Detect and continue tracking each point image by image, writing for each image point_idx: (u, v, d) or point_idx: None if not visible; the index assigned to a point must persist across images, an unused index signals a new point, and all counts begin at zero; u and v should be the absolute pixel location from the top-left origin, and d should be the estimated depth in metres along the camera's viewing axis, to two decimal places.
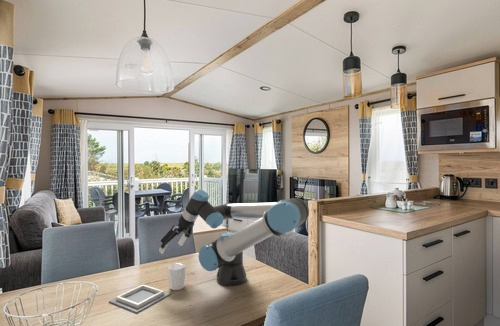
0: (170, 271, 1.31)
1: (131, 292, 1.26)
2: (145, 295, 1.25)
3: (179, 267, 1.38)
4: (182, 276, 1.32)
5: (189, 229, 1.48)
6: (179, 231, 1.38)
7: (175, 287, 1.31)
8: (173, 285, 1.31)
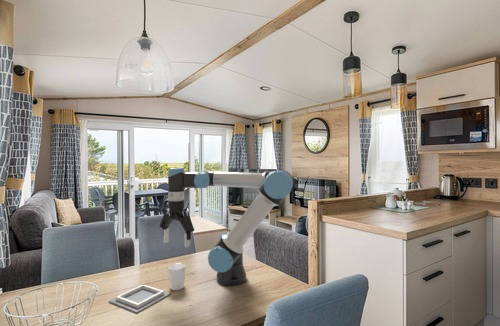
0: (170, 271, 1.31)
1: (131, 292, 1.26)
2: (145, 295, 1.25)
3: (179, 267, 1.38)
4: (182, 276, 1.32)
5: (165, 220, 1.38)
6: (183, 215, 1.34)
7: (175, 287, 1.31)
8: (173, 285, 1.31)
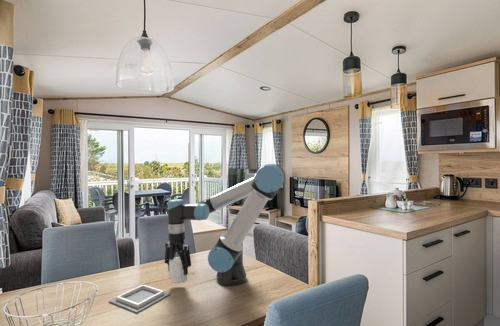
0: (171, 264, 1.31)
1: (131, 292, 1.26)
2: (145, 295, 1.25)
3: (180, 260, 1.38)
4: None
5: (168, 254, 1.37)
6: (183, 248, 1.34)
7: (176, 280, 1.31)
8: (174, 279, 1.31)
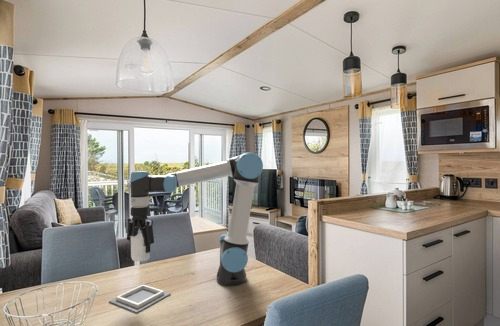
0: (132, 240, 1.20)
1: (131, 292, 1.26)
2: (145, 295, 1.25)
3: None
4: None
5: (131, 230, 1.26)
6: (146, 224, 1.23)
7: (137, 258, 1.20)
8: (135, 256, 1.20)
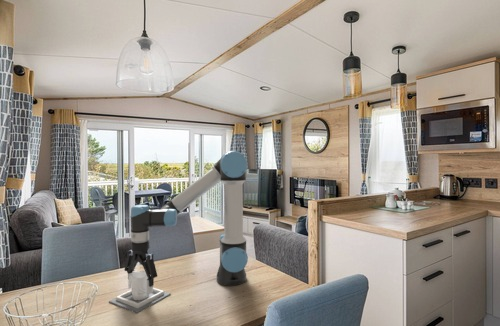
0: (132, 280, 1.20)
1: (131, 292, 1.26)
2: None
3: (144, 275, 1.27)
4: (145, 285, 1.21)
5: (130, 262, 1.27)
6: (147, 258, 1.23)
7: (137, 297, 1.20)
8: (135, 295, 1.20)
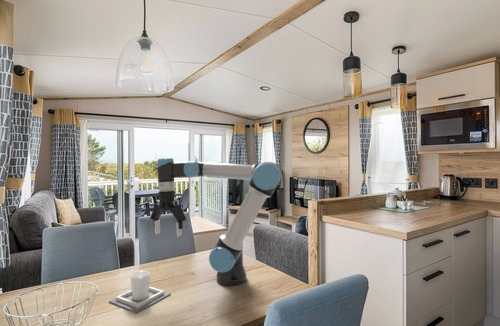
0: (132, 280, 1.20)
1: (131, 292, 1.26)
2: None
3: (144, 275, 1.27)
4: (146, 285, 1.21)
5: (156, 211, 1.37)
6: (173, 205, 1.34)
7: (137, 297, 1.20)
8: (135, 295, 1.20)
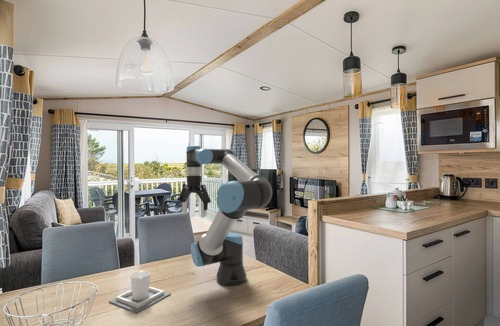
0: (132, 280, 1.20)
1: (131, 292, 1.26)
2: None
3: (144, 275, 1.27)
4: (146, 285, 1.21)
5: (183, 193, 1.52)
6: (200, 189, 1.48)
7: (137, 297, 1.20)
8: (135, 295, 1.20)
